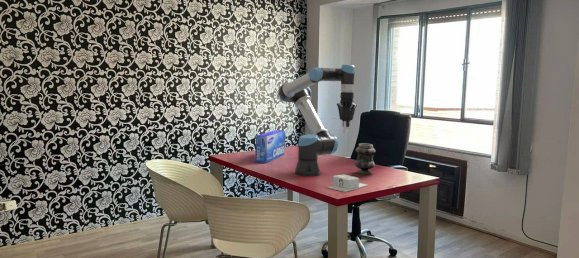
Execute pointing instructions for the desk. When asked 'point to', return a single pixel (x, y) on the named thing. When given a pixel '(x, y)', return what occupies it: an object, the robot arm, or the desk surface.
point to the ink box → (346, 181)
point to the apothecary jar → (365, 158)
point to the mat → (346, 188)
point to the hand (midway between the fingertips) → (345, 132)
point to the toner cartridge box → (269, 146)
